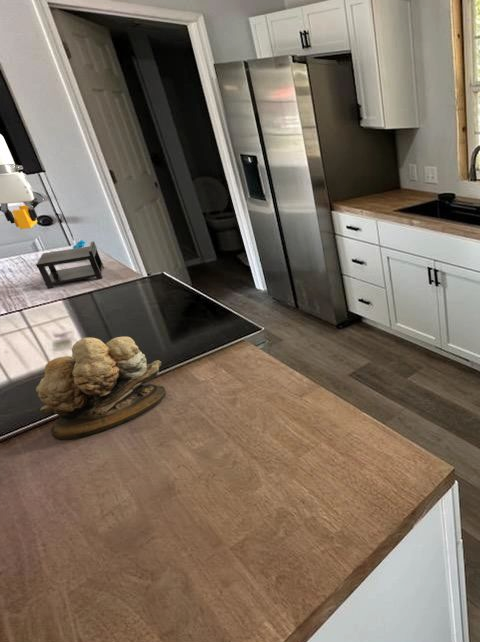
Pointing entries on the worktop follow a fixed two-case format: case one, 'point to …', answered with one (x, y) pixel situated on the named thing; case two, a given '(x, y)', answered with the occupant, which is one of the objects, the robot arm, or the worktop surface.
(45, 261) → the rack
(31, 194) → the robot arm
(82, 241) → the gear
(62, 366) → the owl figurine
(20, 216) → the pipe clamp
